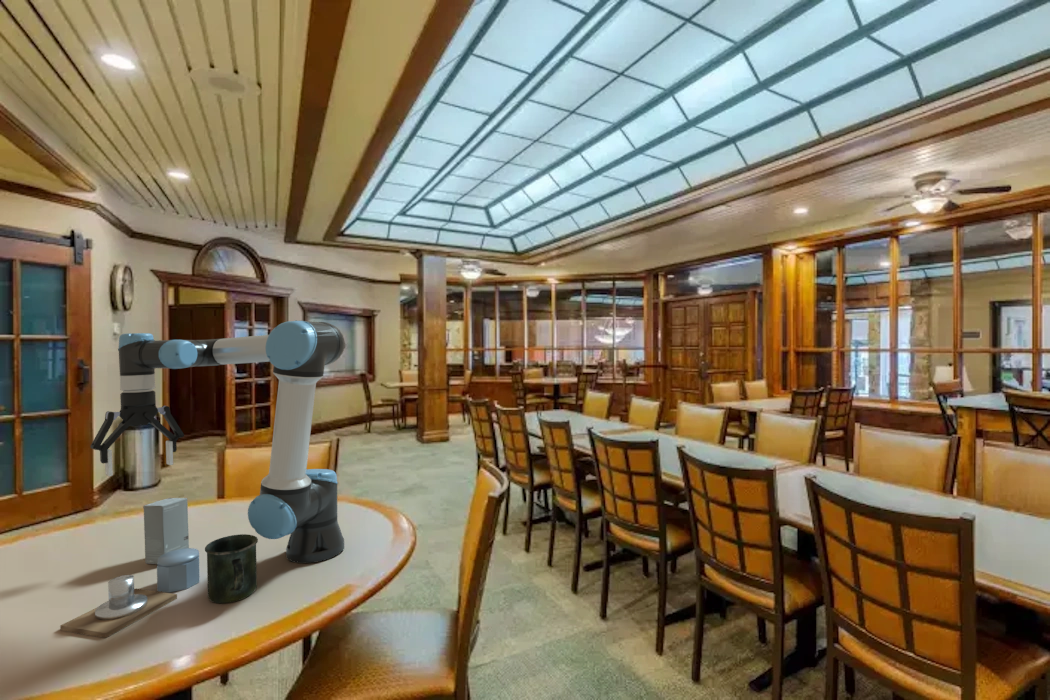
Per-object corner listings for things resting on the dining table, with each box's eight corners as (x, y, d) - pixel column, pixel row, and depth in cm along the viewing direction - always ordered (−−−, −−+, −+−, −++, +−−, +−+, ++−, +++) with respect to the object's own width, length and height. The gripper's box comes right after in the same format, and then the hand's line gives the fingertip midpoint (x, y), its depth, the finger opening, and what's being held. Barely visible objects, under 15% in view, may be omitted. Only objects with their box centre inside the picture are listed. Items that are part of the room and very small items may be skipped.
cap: (207, 577, 129) (207, 550, 129) (177, 593, 121) (177, 564, 120) (180, 574, 131) (179, 546, 131) (149, 589, 123) (148, 560, 122)
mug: (253, 577, 129) (252, 530, 128) (267, 601, 117) (266, 549, 117) (202, 591, 122) (201, 541, 121) (211, 617, 110) (210, 562, 110)
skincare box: (164, 566, 135) (163, 506, 135) (142, 564, 137) (140, 505, 136) (191, 553, 144) (190, 497, 143) (170, 551, 145) (168, 495, 145)
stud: (157, 601, 115) (157, 572, 115) (117, 622, 107) (116, 591, 106) (126, 596, 117) (125, 568, 117) (84, 617, 109) (83, 587, 109)
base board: (177, 598, 118) (176, 594, 118) (105, 638, 103) (105, 633, 103) (135, 592, 121) (135, 588, 121) (60, 630, 106) (60, 625, 106)
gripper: (184, 386, 150) (187, 458, 150) (73, 394, 130) (76, 477, 130) (195, 387, 145) (197, 461, 146) (81, 396, 125) (85, 482, 126)
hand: (140, 469), depth 138 cm, fingers open, 13 cm apart
